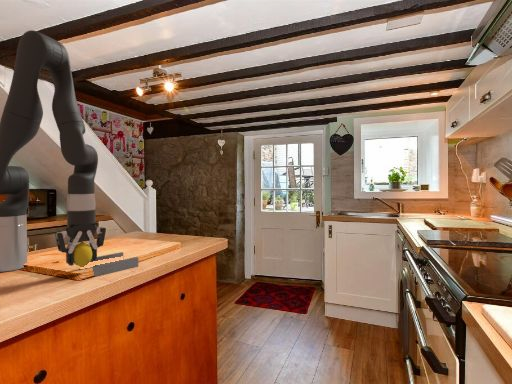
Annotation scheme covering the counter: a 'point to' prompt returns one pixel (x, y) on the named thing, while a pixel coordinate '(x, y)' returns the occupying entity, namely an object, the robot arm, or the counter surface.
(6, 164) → the robot arm
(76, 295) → the counter surface
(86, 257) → the lemon
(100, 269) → the guide channel
